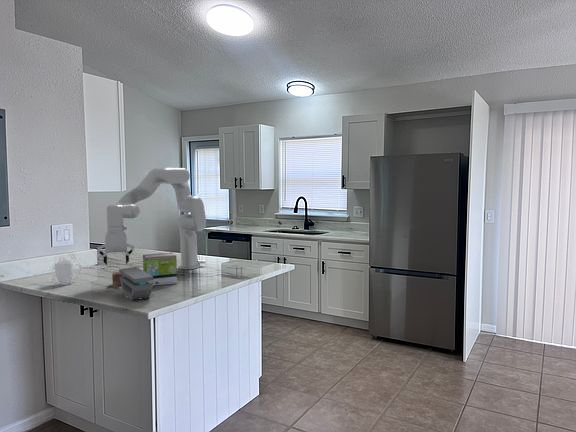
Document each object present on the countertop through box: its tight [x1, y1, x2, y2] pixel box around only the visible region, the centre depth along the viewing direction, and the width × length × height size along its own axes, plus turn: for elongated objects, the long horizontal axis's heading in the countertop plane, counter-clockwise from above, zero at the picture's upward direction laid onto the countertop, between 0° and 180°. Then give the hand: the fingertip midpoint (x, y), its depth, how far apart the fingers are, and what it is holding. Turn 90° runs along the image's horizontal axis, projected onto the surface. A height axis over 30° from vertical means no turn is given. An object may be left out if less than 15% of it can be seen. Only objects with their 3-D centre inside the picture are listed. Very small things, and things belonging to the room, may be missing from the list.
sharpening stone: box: [118, 266, 154, 301], centre depth 199 cm, size 25×8×11 cm, turn 35°
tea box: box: [142, 252, 178, 286], centre depth 223 cm, size 15×10×15 cm, turn 117°
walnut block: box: [111, 271, 124, 287], centre depth 221 cm, size 5×5×6 cm
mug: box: [54, 260, 82, 286], centre depth 224 cm, size 12×8×11 cm
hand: (116, 263), depth 219 cm, fingers open, 9 cm apart
